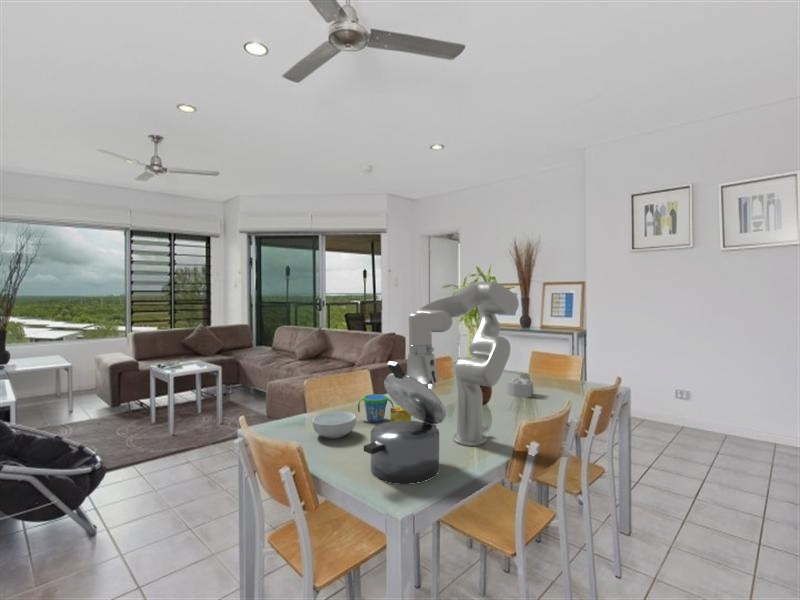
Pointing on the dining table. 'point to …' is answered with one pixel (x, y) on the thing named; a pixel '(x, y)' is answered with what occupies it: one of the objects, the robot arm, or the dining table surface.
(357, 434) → the dining table surface
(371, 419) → the snack cup
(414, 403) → the lid
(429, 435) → the cooker
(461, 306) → the robot arm
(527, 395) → the lumpy-topped squat cylinder
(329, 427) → the cereal bowl
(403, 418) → the supplement box
